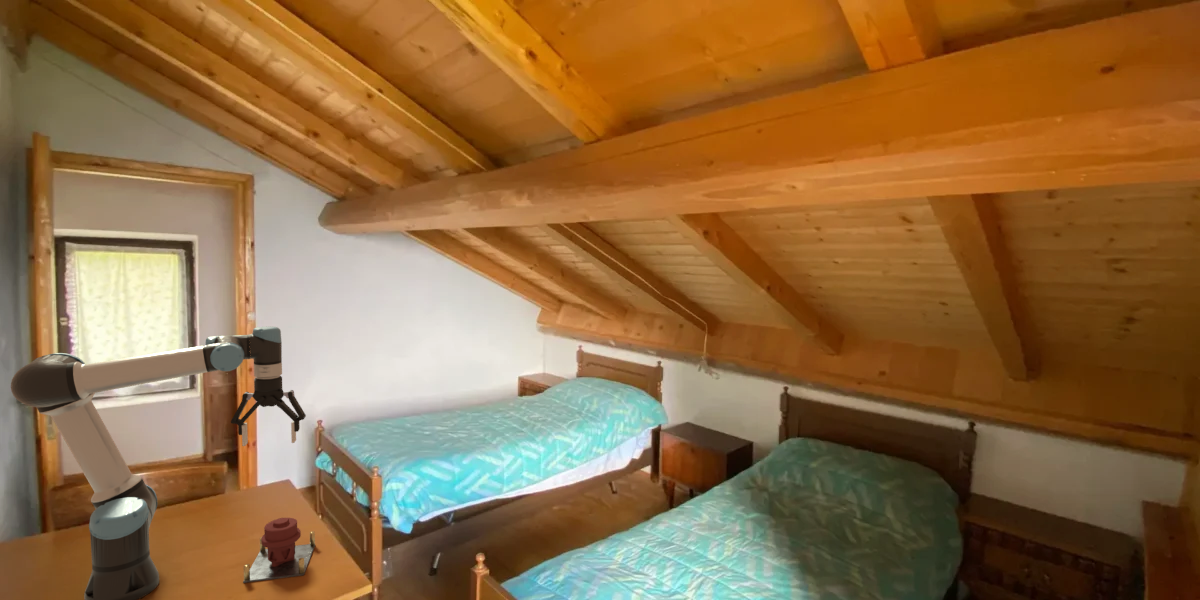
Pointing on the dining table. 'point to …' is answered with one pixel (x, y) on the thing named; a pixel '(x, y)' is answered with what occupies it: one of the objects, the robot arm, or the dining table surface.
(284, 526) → the mechanical component
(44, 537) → the dining table surface
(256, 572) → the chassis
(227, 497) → the dining table surface
